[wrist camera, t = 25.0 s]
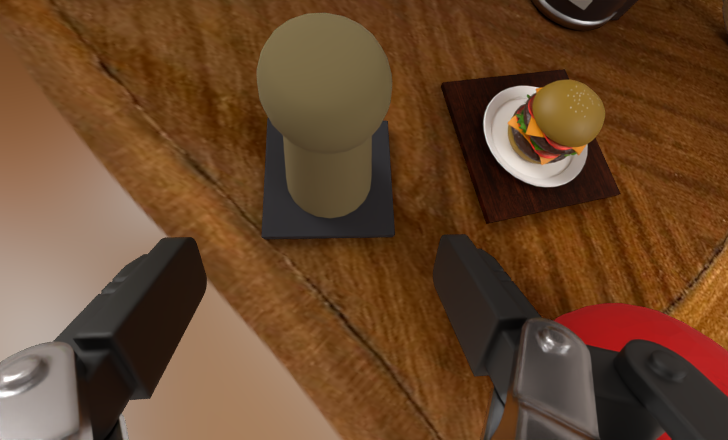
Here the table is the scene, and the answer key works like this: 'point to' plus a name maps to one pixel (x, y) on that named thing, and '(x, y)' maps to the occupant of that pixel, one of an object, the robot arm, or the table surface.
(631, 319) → the fruit
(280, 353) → the table surface
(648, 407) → the robot arm
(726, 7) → the wooden carving
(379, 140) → the coaster
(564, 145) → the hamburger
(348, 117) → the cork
